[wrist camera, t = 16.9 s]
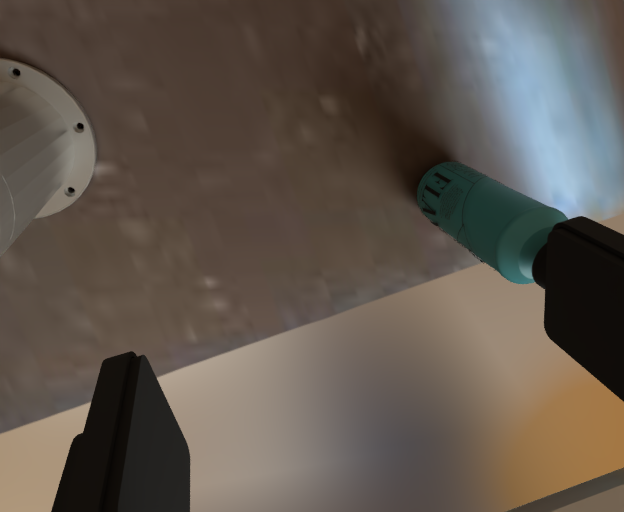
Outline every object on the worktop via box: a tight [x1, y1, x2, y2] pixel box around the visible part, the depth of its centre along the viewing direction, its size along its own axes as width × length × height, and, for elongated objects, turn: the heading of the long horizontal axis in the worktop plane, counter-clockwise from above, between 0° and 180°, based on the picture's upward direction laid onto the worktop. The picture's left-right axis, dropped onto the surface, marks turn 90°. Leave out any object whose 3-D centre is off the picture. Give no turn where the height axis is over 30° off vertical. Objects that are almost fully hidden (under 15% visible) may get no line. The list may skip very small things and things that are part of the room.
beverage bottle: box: [417, 161, 568, 289], centre depth 39 cm, size 6×7×20 cm
